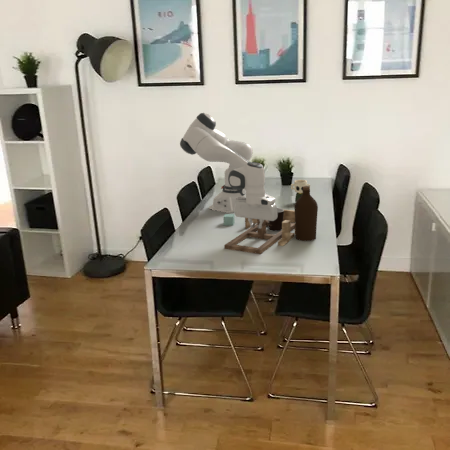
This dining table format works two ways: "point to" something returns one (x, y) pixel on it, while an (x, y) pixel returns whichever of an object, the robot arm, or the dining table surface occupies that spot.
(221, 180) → the dining table surface
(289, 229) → the tan blocky wooden part
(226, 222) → the teal cube
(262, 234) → the brown rectangular open frame
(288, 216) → the frame
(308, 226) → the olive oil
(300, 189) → the character mug
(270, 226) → the coffee mug
